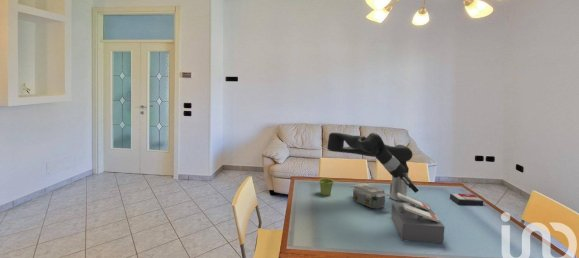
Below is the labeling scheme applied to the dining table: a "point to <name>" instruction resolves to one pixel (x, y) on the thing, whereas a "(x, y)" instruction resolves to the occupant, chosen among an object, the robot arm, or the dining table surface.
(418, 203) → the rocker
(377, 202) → the grey boxy piece
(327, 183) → the plant pot
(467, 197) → the calculator
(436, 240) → the rocker switch panel
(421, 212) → the rocker
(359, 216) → the dining table surface
